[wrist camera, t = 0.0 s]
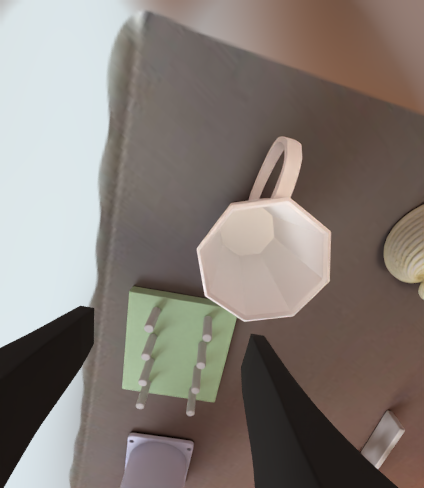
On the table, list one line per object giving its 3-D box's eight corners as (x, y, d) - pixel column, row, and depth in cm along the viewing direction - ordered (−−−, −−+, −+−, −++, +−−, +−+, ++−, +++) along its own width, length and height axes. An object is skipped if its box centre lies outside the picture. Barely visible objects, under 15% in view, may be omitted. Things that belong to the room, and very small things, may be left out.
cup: (194, 253, 20) (181, 308, 12) (225, 131, 17) (233, 101, 9) (270, 272, 20) (304, 336, 13) (314, 157, 17) (394, 148, 9)
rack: (214, 393, 25) (214, 428, 22) (125, 380, 25) (111, 413, 21) (238, 303, 21) (242, 328, 18) (133, 285, 21) (117, 308, 18)
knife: (354, 479, 30) (368, 509, 27) (338, 477, 30) (350, 507, 27) (398, 411, 26) (419, 440, 23) (380, 409, 26) (399, 437, 23)
